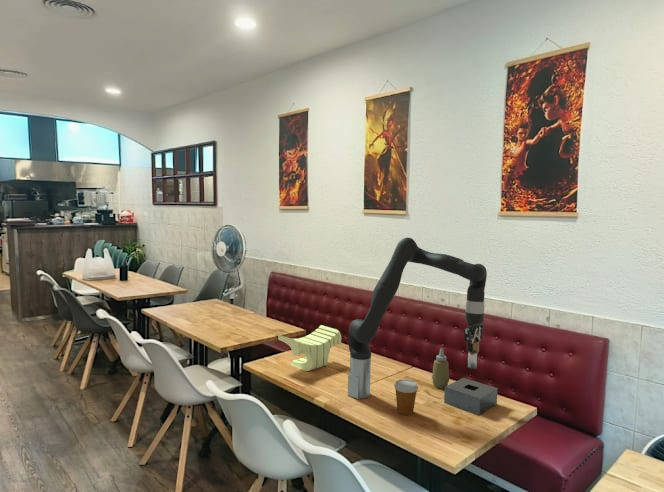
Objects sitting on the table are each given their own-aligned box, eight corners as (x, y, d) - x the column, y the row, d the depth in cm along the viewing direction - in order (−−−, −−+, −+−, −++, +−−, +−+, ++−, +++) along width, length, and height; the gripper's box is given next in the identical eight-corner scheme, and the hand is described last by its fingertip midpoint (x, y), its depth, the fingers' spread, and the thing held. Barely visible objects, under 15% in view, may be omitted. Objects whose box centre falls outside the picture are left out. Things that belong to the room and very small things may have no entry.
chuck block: (479, 415, 175) (480, 398, 175) (444, 402, 187) (444, 386, 186) (496, 404, 187) (497, 388, 186) (462, 392, 198) (463, 377, 197)
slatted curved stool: (297, 377, 212) (298, 341, 211) (277, 368, 224) (278, 334, 222) (340, 363, 233) (341, 330, 232) (320, 356, 245) (321, 325, 243)
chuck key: (474, 369, 182) (475, 344, 181) (464, 366, 186) (465, 341, 185) (480, 367, 186) (481, 342, 185) (469, 364, 189) (470, 339, 188)
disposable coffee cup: (411, 419, 170) (413, 389, 170) (389, 413, 175) (390, 384, 175) (420, 410, 178) (421, 382, 178) (399, 404, 183) (400, 377, 183)
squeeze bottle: (452, 386, 205) (453, 349, 204) (443, 391, 199) (445, 352, 198) (436, 381, 211) (438, 345, 209) (428, 386, 205) (429, 348, 204)
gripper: (475, 315, 176) (473, 356, 177) (491, 310, 186) (488, 349, 187) (458, 311, 182) (456, 351, 183) (474, 307, 192) (472, 345, 193)
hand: (472, 350), depth 185 cm, fingers closed on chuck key, 4 cm apart
